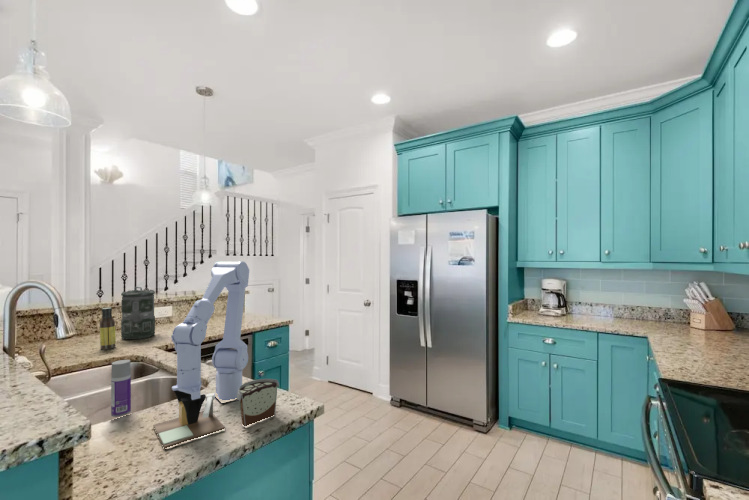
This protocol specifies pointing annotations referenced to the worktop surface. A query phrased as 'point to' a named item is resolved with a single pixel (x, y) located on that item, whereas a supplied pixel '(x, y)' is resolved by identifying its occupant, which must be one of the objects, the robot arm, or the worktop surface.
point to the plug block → (182, 414)
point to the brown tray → (191, 427)
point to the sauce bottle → (107, 329)
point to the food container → (257, 400)
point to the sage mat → (175, 434)
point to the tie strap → (208, 404)
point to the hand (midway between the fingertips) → (189, 417)
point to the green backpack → (137, 314)
